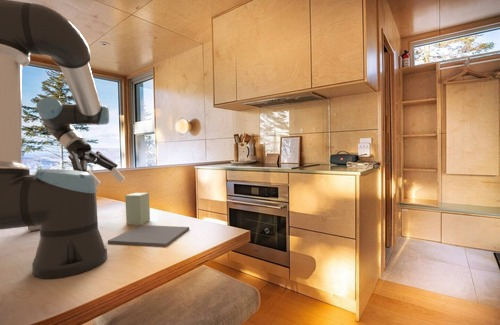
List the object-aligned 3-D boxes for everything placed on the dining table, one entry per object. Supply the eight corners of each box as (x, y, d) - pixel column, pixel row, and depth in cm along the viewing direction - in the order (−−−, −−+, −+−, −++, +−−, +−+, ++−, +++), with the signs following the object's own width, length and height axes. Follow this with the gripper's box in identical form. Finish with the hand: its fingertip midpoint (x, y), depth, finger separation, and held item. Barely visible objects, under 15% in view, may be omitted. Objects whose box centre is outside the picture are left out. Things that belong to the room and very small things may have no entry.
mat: (166, 246, 75) (166, 243, 75) (107, 243, 78) (107, 240, 78) (189, 229, 91) (189, 227, 91) (139, 227, 94) (139, 225, 94)
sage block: (140, 224, 97) (139, 195, 97) (126, 224, 98) (125, 195, 98) (149, 220, 103) (148, 192, 103) (136, 219, 104) (135, 192, 104)
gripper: (94, 151, 117) (126, 184, 115) (40, 152, 93) (79, 195, 91) (104, 139, 116) (136, 172, 114) (52, 137, 91) (92, 180, 89)
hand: (111, 182), depth 102 cm, fingers open, 13 cm apart
